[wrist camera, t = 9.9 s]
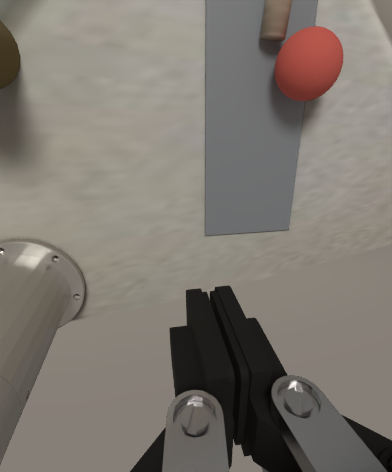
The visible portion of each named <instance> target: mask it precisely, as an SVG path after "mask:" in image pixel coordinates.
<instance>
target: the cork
mask: <svg viewBox="0 0 392 472" xmlns="http://www.w3.org/2000/svg"><path fill="white" fill-rule="evenodd" d="M19 68H20V54H19V50H18V46H17V43H16V41H15V39H14V38H13V36H12V34H11V32H10V31H9V30H8V29H7V28H6V27H5V25H4V24H3V23H2V22H1V21H0V88H3V87H5V86H8V85H9V84H10V83H11V82H12V81H13V80H14V79H15V78H16V76H17V73H18V71H19Z"/></svg>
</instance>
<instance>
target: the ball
mask: <svg viewBox="0 0 392 472" xmlns="http://www.w3.org/2000/svg"><path fill="white" fill-rule="evenodd" d="M342 64H343V49H342V45H341V43H340V41H339V39H338V37H337V36H336V35H335V34H334V33H333V32H332V31H330V30H328V29H326V28H323V27H318V26H314V27H307V28H304V29H302V30H300V31H298V32H296V33H295V34H293V35H292V36H291V37H290V38H289V39H288V40H287V41H286V42H285V43H284V45H283V46H282V48H281V49H280V51H279V53H278V56H277V59H276V63H275V79H276V83H277V85H278V87H279V89H280V90H281V92H282V93H283V94H284V95H286V96H287V97H288V98H290V99H293V100H296V101H308V100H312V99H315V98H317V97H319V96H321V95H323V94H324V93H325V92H326V91H328V90H329V89H330V88H331V87H332V85H333V84H334V83H335V81H336V80H337V78H338V76H339V74H340V72H341V68H342Z"/></svg>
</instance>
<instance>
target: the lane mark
mask: <svg viewBox="0 0 392 472" xmlns="http://www.w3.org/2000/svg"><path fill="white" fill-rule="evenodd" d="M265 1H266V0H206V53H205V236H209V235H222V234H236V233H250V232H263V231H277V230H289V224H290V216H291V208H292V200H293V193H294V185H295V177H296V169H297V161H298V153H299V146H300V138H301V130H302V122H303V114H304V107H305V101H296V100H293V99H290V98H288V97H287V96H286V95H284V94H283V93H282V92H281V90H280V89H279V87H278V85H277V83H276V79H275V63H276V59H277V56H278V53H279V51H280V49H281V48H282V46H283V45H284V43H285V42H286V41H287V40H288V39H289V38H290V37H291V36H292V35H293V34H295V33H296V32H298V31H300V30H302V29H304V28H307V27H314V26H315V21H316V13H317V5H318V0H292V5H291V11H290V16H289V21H288V27H287V32H286V37H285V40H283V41H280V42H275V41H269V40H263V39H260V33H261V27H262V20H263V14H264V8H265Z"/></svg>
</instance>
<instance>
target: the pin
mask: <svg viewBox="0 0 392 472" xmlns="http://www.w3.org/2000/svg"><path fill="white" fill-rule="evenodd" d="M291 5H292V0H266V1H265V8H264V14H263V20H262V27H261V33H260V39H263V40H269V41H275V42H280V41H283V40H285V37H286V32H287V27H288V21H289V16H290V11H291Z"/></svg>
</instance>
